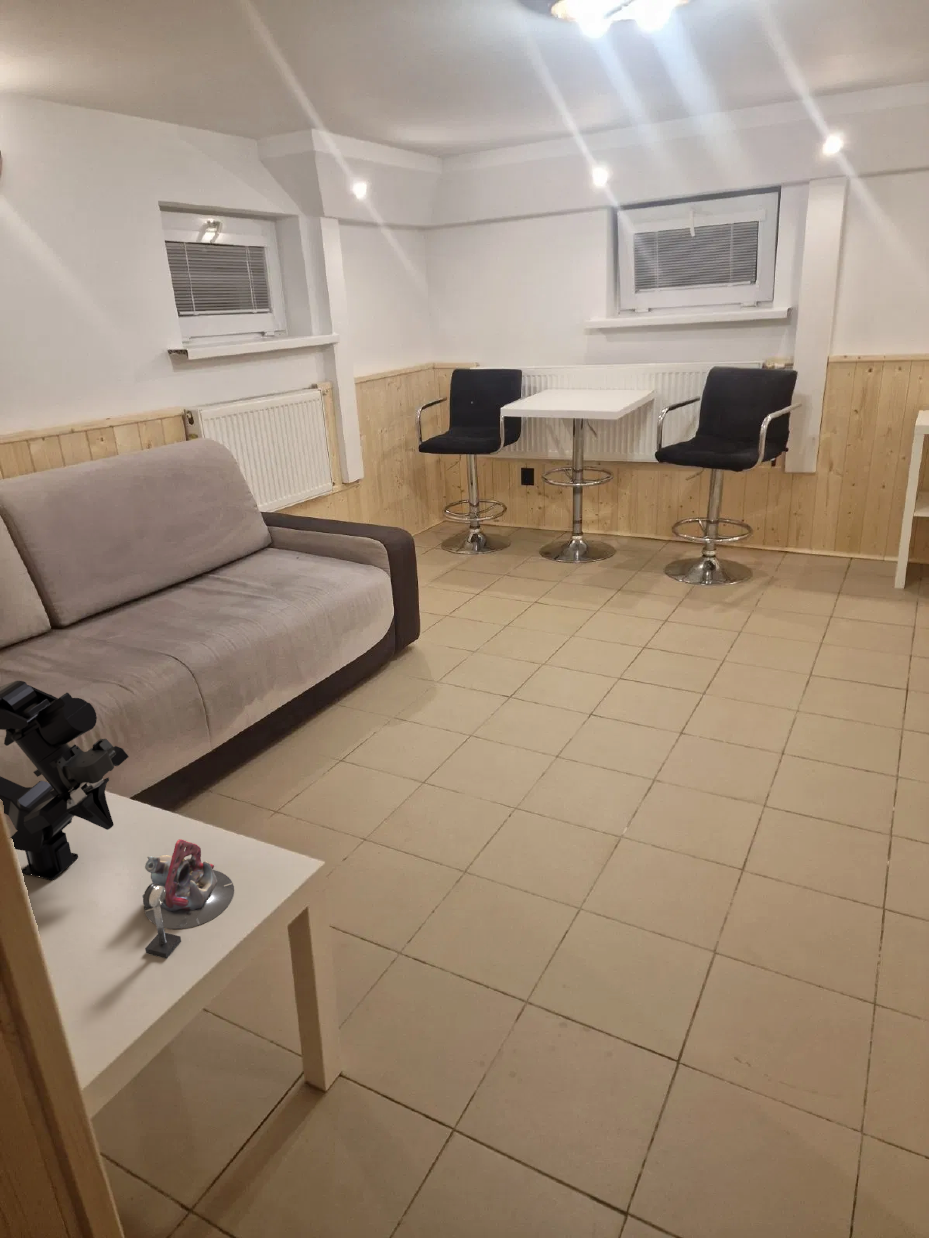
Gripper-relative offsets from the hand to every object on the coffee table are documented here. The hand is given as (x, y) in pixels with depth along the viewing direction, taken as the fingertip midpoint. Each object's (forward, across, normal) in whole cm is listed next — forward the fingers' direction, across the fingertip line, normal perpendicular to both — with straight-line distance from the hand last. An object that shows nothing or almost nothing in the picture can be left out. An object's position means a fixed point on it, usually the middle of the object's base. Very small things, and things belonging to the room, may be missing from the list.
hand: (110, 827), depth 135 cm
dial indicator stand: (+17, -12, -9) cm, 23 cm away
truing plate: (+16, -2, -7) cm, 17 cm away
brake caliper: (+16, -2, -6) cm, 17 cm away
